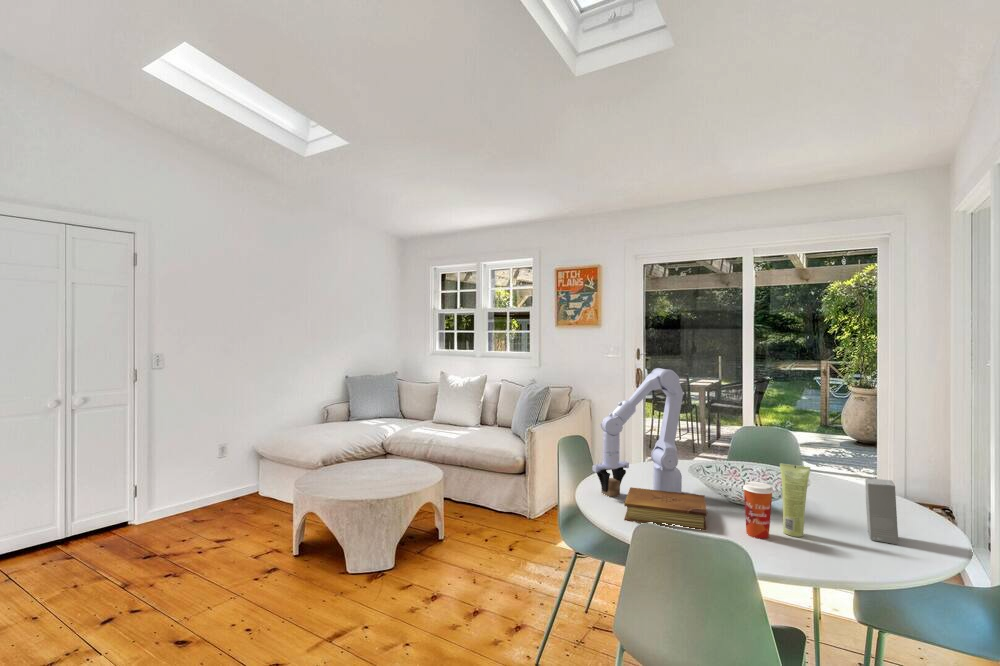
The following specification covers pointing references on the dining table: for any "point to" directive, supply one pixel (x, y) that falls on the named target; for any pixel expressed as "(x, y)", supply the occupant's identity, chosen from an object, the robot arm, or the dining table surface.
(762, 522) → the paper cup
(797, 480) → the tube
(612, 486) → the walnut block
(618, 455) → the robot arm
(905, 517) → the dining table surface
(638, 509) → the diary
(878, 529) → the skincare box
